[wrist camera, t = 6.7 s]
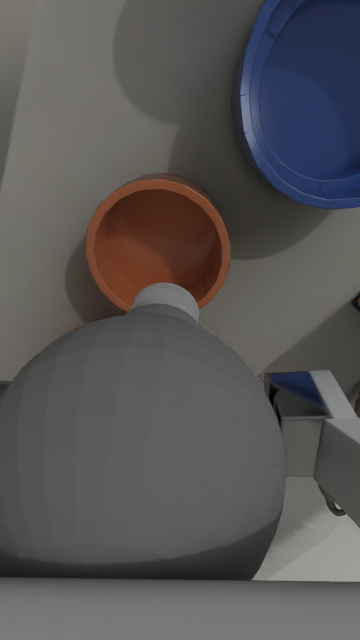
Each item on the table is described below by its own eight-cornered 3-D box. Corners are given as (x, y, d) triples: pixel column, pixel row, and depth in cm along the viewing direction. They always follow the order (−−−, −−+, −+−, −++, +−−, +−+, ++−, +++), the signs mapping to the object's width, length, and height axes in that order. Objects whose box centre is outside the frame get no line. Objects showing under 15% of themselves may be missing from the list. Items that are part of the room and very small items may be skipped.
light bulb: (269, 272, 12) (458, 609, 3) (201, 384, 15) (209, 730, 6) (119, 205, 11) (-159, 428, 2) (76, 338, 14) (-127, 667, 5)
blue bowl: (405, 189, 24) (451, 201, 20) (230, 202, 25) (237, 216, 21) (465, -57, 18) (552, -120, 13) (230, -27, 19) (240, -77, 14)
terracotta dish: (225, 293, 29) (230, 317, 25) (114, 298, 30) (101, 323, 26) (224, 167, 24) (230, 173, 20) (90, 178, 25) (70, 186, 21)
